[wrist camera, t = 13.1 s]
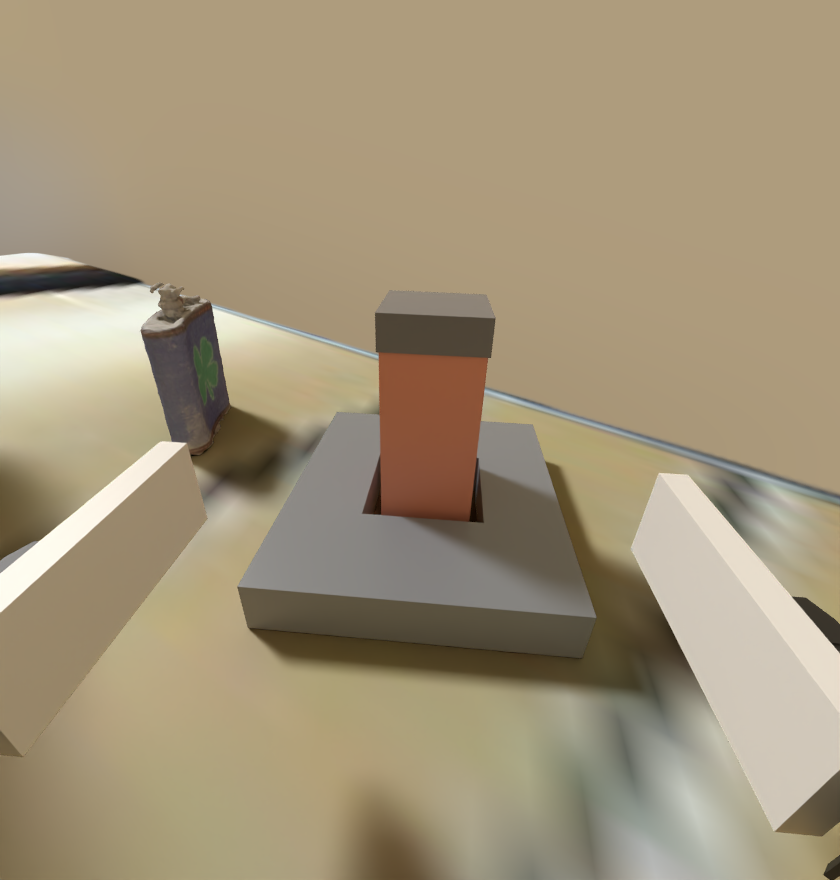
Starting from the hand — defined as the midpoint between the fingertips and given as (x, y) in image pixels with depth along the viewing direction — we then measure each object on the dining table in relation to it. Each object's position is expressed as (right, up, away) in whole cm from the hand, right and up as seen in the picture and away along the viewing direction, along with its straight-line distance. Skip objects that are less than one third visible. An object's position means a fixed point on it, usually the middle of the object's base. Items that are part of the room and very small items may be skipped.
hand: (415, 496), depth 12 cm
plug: (0, -3, +12) cm, 13 cm away
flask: (-17, +2, +21) cm, 27 cm away
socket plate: (0, -3, +12) cm, 13 cm away
